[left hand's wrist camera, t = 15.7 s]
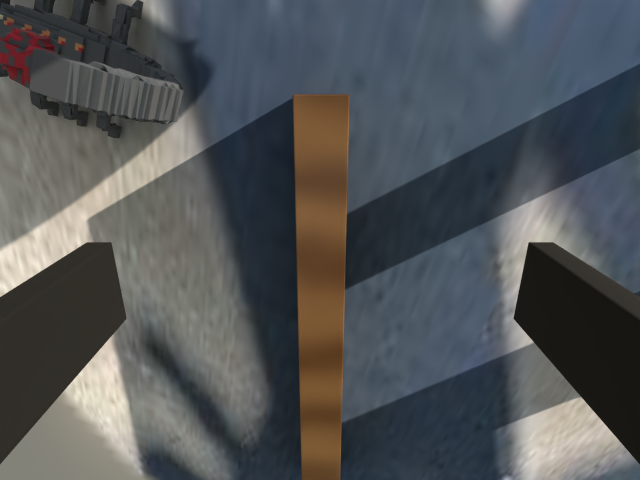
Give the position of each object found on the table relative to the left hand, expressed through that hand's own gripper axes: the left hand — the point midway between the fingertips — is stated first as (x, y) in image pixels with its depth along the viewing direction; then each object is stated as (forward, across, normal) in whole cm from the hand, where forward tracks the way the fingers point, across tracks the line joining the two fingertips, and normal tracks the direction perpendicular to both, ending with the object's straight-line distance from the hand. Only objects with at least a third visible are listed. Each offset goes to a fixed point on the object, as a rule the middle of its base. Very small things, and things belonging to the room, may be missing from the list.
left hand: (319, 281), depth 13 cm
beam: (+32, 0, -21) cm, 38 cm away
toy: (+32, -24, +10) cm, 41 cm away
